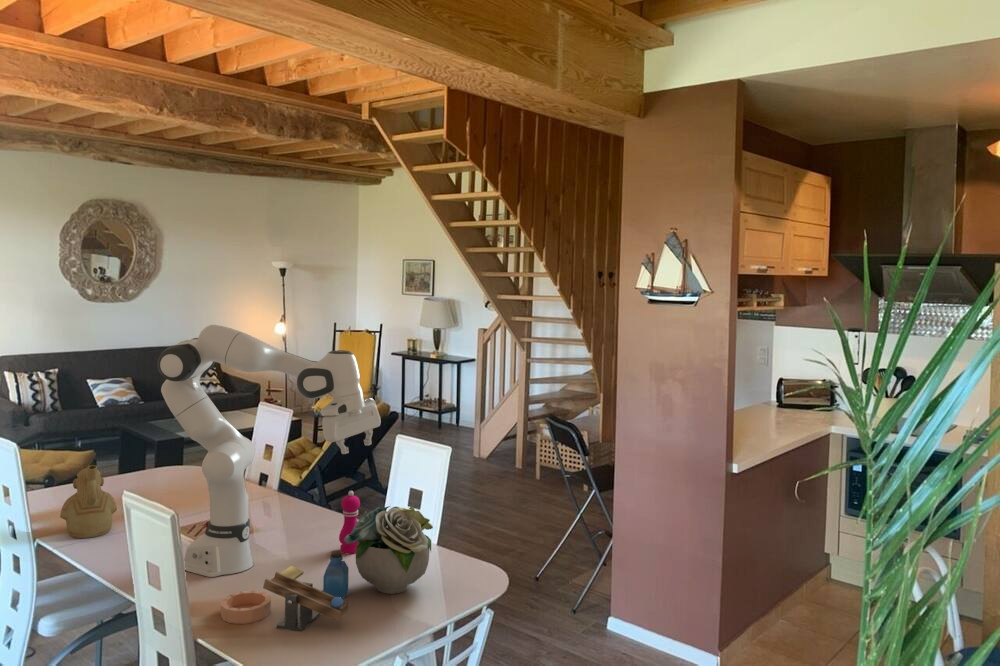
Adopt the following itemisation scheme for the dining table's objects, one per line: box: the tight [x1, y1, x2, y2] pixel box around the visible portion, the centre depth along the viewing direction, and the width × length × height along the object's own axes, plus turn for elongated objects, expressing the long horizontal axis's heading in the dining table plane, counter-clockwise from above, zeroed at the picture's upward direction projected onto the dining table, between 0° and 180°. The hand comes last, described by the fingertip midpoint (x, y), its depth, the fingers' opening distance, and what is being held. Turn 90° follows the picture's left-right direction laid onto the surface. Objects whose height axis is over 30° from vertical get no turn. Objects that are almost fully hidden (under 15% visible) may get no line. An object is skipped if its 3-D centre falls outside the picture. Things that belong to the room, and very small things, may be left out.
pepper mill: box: [338, 490, 361, 555], centre depth 244 cm, size 7×7×20 cm
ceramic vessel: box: [59, 464, 118, 539], centre depth 254 cm, size 17×20×25 cm
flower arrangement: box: [344, 506, 434, 595], centre depth 215 cm, size 25×25×24 cm
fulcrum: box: [276, 581, 321, 633], centre depth 193 cm, size 7×10×9 cm
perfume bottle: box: [322, 549, 349, 598], centre depth 211 cm, size 6×6×12 cm
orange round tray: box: [220, 590, 272, 625], centre depth 197 cm, size 12×12×4 cm
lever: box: [262, 565, 351, 621], centre depth 196 cm, size 22×14×3 cm, turn 76°
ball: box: [331, 597, 344, 610], centre depth 190 cm, size 3×3×3 cm
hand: (357, 449), depth 221 cm, fingers open, 8 cm apart
